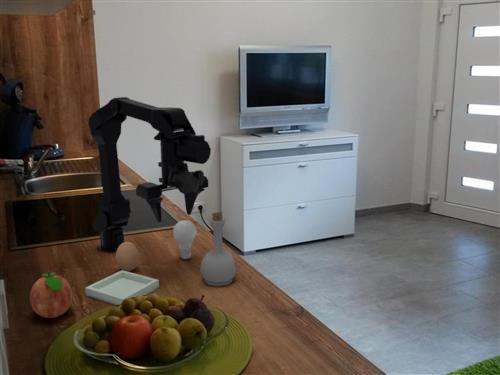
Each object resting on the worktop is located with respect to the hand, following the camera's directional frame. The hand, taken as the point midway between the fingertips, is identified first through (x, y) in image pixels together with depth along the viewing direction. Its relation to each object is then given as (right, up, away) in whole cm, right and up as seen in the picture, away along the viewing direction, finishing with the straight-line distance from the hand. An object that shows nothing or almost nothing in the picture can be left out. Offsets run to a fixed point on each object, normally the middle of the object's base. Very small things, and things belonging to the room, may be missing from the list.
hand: (174, 218), depth 136 cm
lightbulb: (+2, -12, +9) cm, 15 cm away
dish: (-11, -17, -11) cm, 23 cm away
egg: (-12, -14, +1) cm, 19 cm away
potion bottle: (+12, -15, -5) cm, 20 cm away
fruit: (-23, -20, -22) cm, 37 cm away
